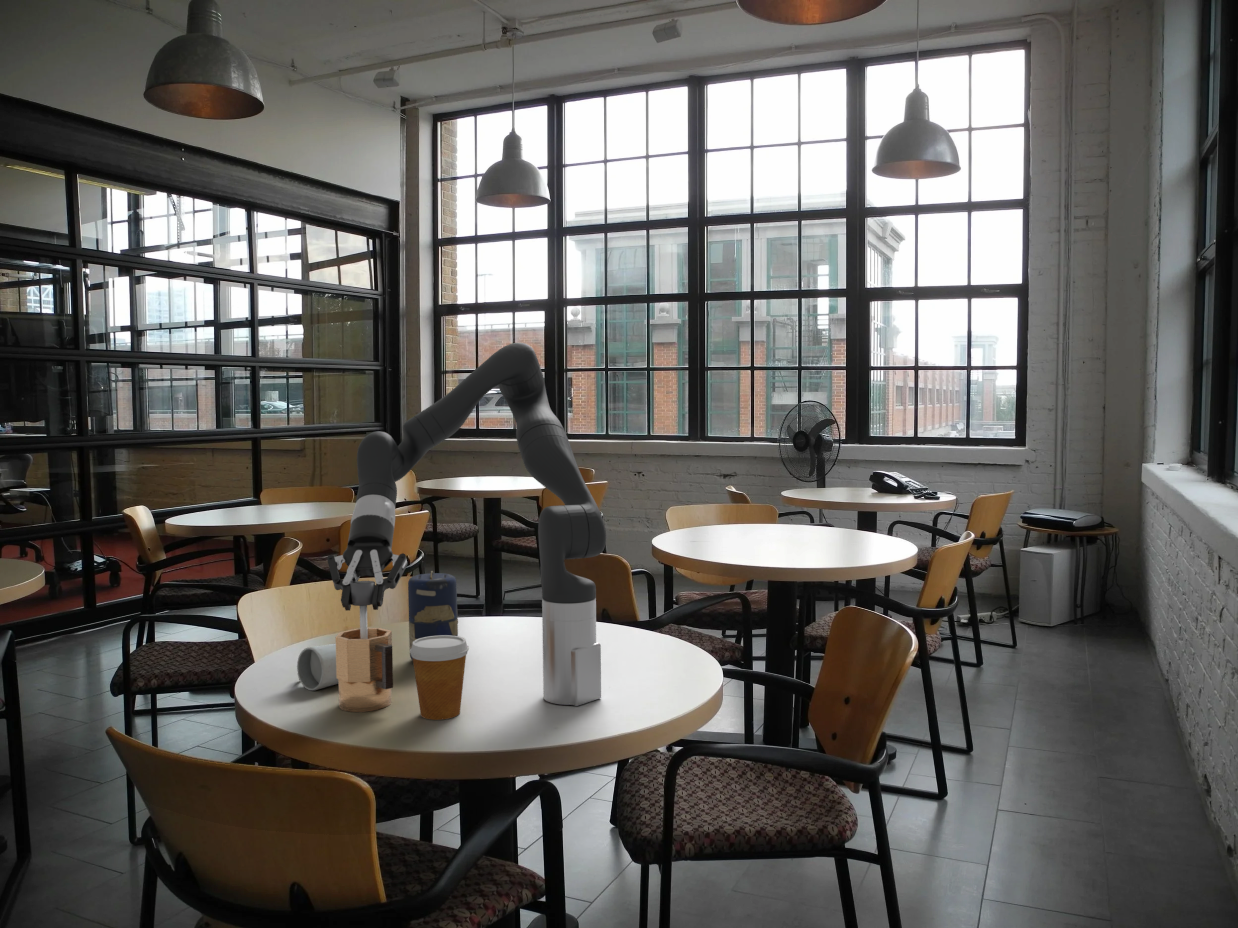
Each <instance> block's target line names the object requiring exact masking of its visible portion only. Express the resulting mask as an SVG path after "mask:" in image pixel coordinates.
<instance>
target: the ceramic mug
mask: <svg viewBox="0 0 1238 928" xmlns="http://www.w3.org/2000/svg"><path fill="white" fill-rule="evenodd" d="M296 671H297V677H298V680H299V681H300V683H301V684H302V685H301V686H303V687H304V688H305V689H306V690H309V691H317V690H321V689H325V688H328V687H332V686H334V685H338V679H337V676H336V642H335V643H329V644H322V645H315V646H307V647H305V648H304V649H302V650H301V652H300V653H299V655H298V658H297V664H296Z"/></svg>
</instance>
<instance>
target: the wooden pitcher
mask: <svg viewBox="0 0 1238 928" xmlns="http://www.w3.org/2000/svg"><path fill="white" fill-rule="evenodd" d="M367 629H368V639H360V627H358V628H355V629H354V628H353V629H349V630H345V631H340V632H338V634H337V635H336V636H335V643H336V676H337V679H338V684H337V685H338V707H339V709H340V710H342V711H346V712H350V713H353V712H354V713H365V712H367V713H368V712H373V711H378V710H381V709H384V708H385V709H386V708H387V707H389V706H390V705H391V704H392V689H393V688H394V668H393V667H394V664H393V663H394V662H393V661H394V660H393V642H392V640H393V639H392V638H393V636H392V635H393V633H392V632H393V631H392V630H389V629H386V628H385V629H384V628H383V627H382V628H381V627H367Z"/></svg>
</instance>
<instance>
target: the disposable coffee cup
mask: <svg viewBox="0 0 1238 928" xmlns="http://www.w3.org/2000/svg"><path fill="white" fill-rule="evenodd" d="M467 644H468V643H467V639H466V638H465V637H462V636H459V635H458V636H451V635H440V636H429V637H423V638H419V639H417V640H415V641H413V644H412V648H411V649H410V648H409V655H410V654H411V656H412V658H413V660H412V663H413V664H412V665H413V669H414V677H415V678H414V679H415V683H416V685H415V686H416V690H417V691H416V692H417V697H418V705H419V712H420V716H421V717H422V718H423V719H426V720H433V721H437V720H438V721H440V720H443V721H444V720H449V719H452V718H455V717H457V716H459V715H460V713H461V708H462V707H461V705H462V695H463V688H464V679H465V668H466V660H467V655H468V652H469V649H470V647H469V645H467Z"/></svg>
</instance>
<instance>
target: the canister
mask: <svg viewBox="0 0 1238 928" xmlns="http://www.w3.org/2000/svg"><path fill="white" fill-rule="evenodd" d="M457 588H458V587H457V578H456V576H454V575H452V574H449V573H441V572H440V573H439V572H438V573H437V572H436V573H435V572H434V571H433V570H430V573H421V574H416V575H414V576H411V577H410V578H409V580H408V582H407V593H408V594H407V595H408V599H407V601H408V603H407V604H408V639H409V640H408V641H409V645H408V646H409V650H410V649H411V648H412V644H413V641H415V640H417V639H419V638H423V637H429V636H440V635H451V636H459V629H458V628H459V627H458V626H459V625H458V624H459V618H458V596H457V595H458V589H457ZM409 658H410V659H411V660H412V661H413V658H412V656H411V654H410V653H409Z"/></svg>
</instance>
